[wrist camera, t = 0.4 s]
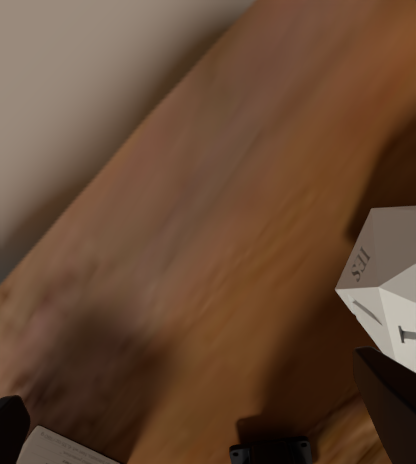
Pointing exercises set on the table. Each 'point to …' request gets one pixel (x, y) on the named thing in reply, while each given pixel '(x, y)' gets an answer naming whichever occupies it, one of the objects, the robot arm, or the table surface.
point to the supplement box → (57, 450)
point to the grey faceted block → (385, 281)
